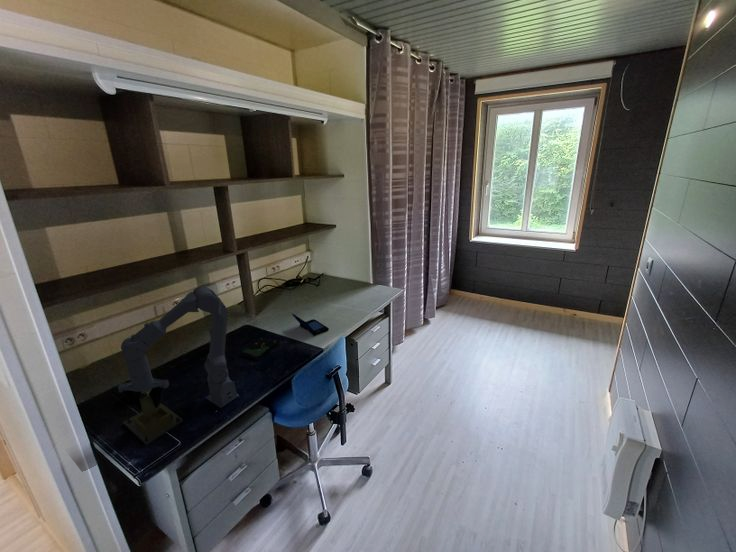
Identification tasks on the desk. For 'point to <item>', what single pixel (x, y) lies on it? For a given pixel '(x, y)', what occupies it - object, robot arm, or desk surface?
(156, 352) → the desk surface
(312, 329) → the black handheld device
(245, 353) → the disk drive
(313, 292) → the desk surface
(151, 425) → the mounting bracket
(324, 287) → the desk surface
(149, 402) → the switch lever
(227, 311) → the robot arm
